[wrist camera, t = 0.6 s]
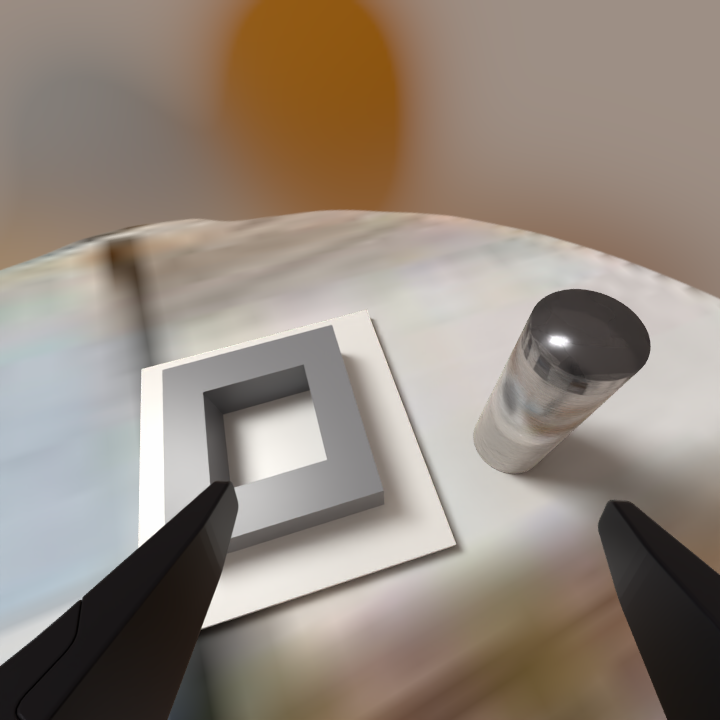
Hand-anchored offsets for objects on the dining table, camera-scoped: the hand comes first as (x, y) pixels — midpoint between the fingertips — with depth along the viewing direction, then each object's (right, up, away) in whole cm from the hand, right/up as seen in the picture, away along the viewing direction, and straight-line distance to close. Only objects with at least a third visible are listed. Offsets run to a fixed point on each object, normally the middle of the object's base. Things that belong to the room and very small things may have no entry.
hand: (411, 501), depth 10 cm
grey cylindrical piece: (+9, -2, +17) cm, 19 cm away
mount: (-7, -3, +18) cm, 19 cm away
